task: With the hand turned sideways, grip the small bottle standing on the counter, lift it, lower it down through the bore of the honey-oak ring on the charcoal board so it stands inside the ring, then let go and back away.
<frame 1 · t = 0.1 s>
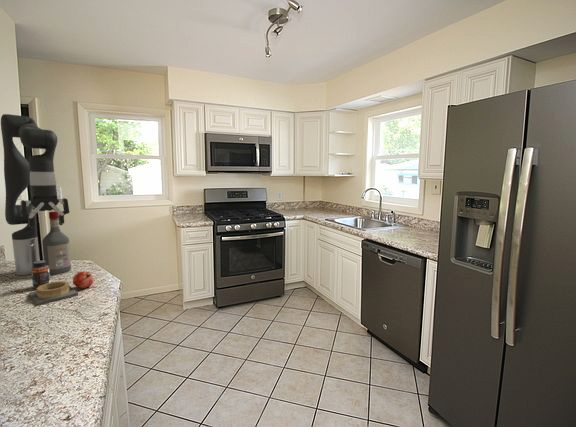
hand: (47, 226, 116), 29 cm above the countertop, tool pointing down, fingers open, 8 cm apart
liquor: (58, 272, 150), on the countertop
supplement bottle: (42, 287, 131), on the countertop
ring board: (53, 295, 123), on the countertop
pomegranate: (83, 288, 132), on the countertop
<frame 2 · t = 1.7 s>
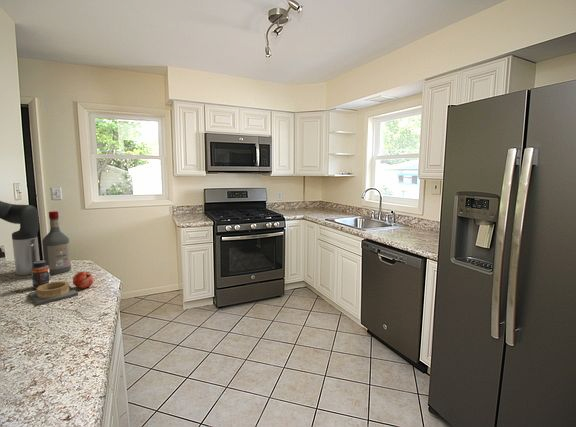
hand: (3, 252, 120), 18 cm above the countertop, tool horizontal, fingers open, 8 cm apart
nothing on the countertop moved.
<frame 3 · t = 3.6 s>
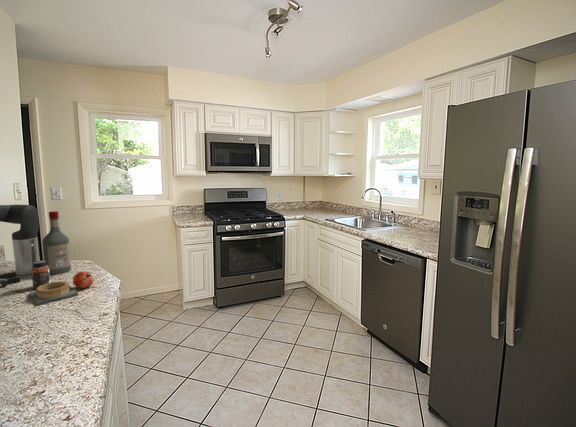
hand: (17, 276, 125), 6 cm above the countertop, tool horizontal, fingers open, 8 cm apart
nothing on the countertop moved.
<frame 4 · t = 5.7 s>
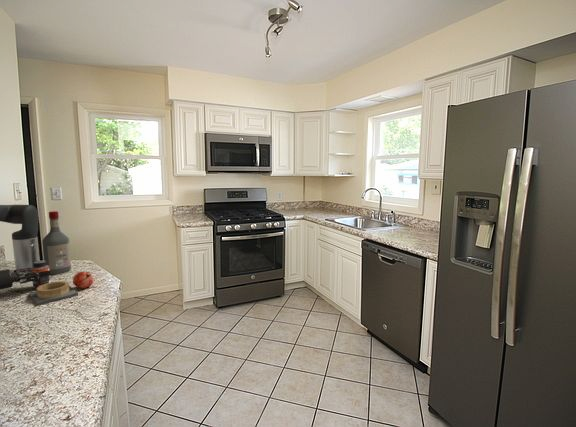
hand: (47, 270, 132), 7 cm above the countertop, tool horizontal, fingers closed on supplement bottle, 6 cm apart
supplement bottle: (42, 287, 131), on the countertop, touching gripper
everything else where it was.
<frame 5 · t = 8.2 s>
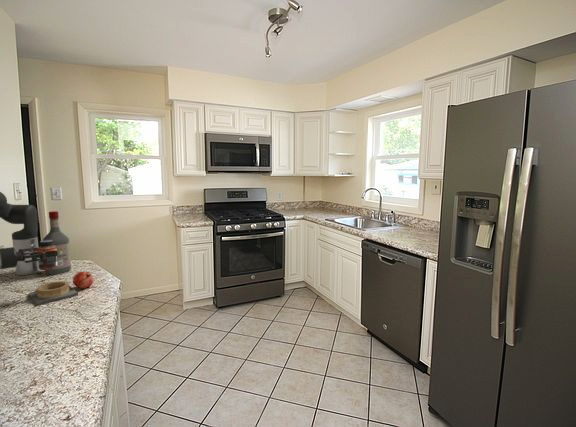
hand: (54, 251, 123), 18 cm above the countertop, tool horizontal, fingers closed on supplement bottle, 6 cm apart
supplement bottle: (48, 268, 122), point 11 cm above the countertop, touching gripper
everything else where it was.
when the fingers open (9 cm above the countertop, at t = 11.0 s): supplement bottle drops 1 cm, resting on ring board.
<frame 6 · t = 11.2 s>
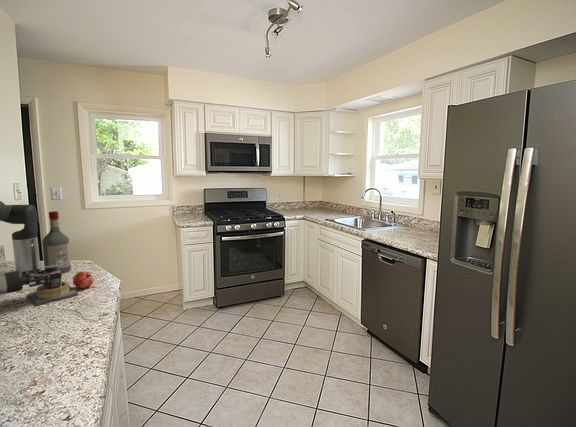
hand: (58, 272, 123), 9 cm above the countertop, tool horizontal, fingers open, 7 cm apart
supplement bottle: (53, 293, 123), point 1 cm above the countertop, touching ring board
everything else where it was.
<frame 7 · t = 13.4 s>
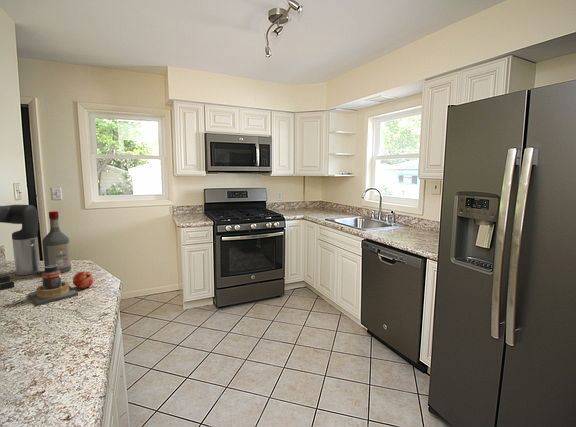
hand: (11, 281, 113), 9 cm above the countertop, tool horizontal, fingers open, 8 cm apart
nothing on the countertop moved.
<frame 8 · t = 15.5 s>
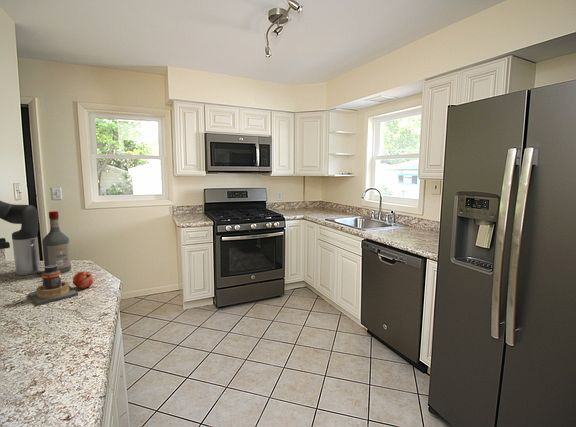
hand: (7, 242, 110), 24 cm above the countertop, tool horizontal, fingers open, 8 cm apart
nothing on the countertop moved.
at the end: supplement bottle 0.2 cm off-centre on the ring board, point 0.8 cm above the ring board's base; supplement bottle tilted 0°; the gripper is holding nothing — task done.
